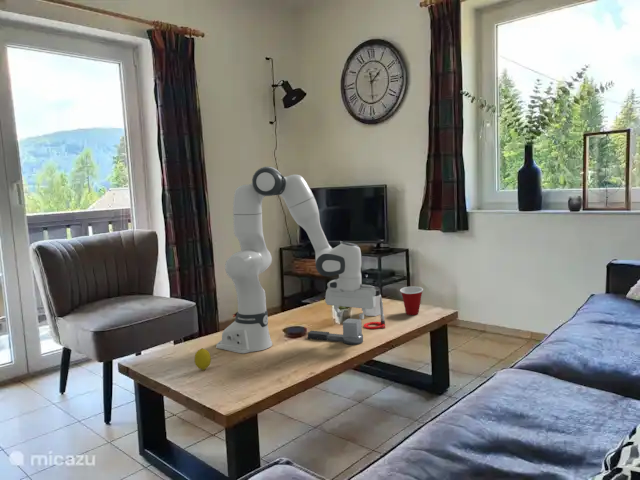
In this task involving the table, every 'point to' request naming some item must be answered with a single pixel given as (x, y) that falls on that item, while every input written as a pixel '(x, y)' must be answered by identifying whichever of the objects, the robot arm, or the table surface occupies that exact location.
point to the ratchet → (334, 337)
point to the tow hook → (380, 324)
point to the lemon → (202, 359)
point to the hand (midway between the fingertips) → (350, 317)
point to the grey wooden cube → (352, 328)
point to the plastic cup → (411, 299)
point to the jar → (376, 309)
